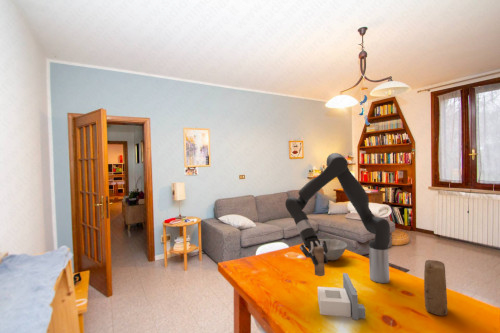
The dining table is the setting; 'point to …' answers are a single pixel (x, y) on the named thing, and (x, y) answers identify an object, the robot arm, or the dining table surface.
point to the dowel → (319, 261)
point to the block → (435, 287)
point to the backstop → (353, 298)
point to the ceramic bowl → (334, 248)
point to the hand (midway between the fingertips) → (321, 264)
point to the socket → (334, 301)
